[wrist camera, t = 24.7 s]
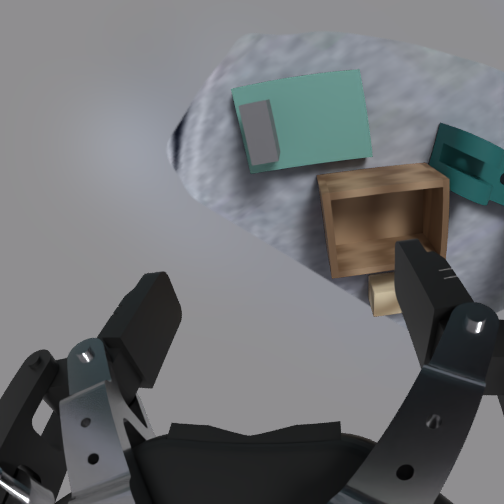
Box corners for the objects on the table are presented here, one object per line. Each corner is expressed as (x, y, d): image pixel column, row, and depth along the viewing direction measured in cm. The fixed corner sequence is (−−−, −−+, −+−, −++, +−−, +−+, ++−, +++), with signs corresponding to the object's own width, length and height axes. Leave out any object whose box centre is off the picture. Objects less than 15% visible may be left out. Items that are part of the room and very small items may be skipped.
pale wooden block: (368, 274, 42) (374, 293, 39) (432, 265, 41) (443, 283, 37) (368, 297, 44) (373, 316, 40) (429, 288, 42) (439, 306, 38)
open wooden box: (425, 162, 34) (449, 179, 28) (426, 235, 38) (445, 261, 32) (316, 175, 37) (321, 193, 31) (326, 248, 41) (332, 278, 35)
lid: (355, 70, 30) (370, 66, 24) (368, 152, 35) (384, 167, 28) (234, 89, 33) (221, 89, 27) (253, 169, 37) (244, 187, 31)
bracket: (426, 173, 34) (453, 194, 27) (440, 122, 31) (471, 133, 24) (518, 209, 34) (548, 233, 27) (532, 168, 30) (565, 187, 24)
